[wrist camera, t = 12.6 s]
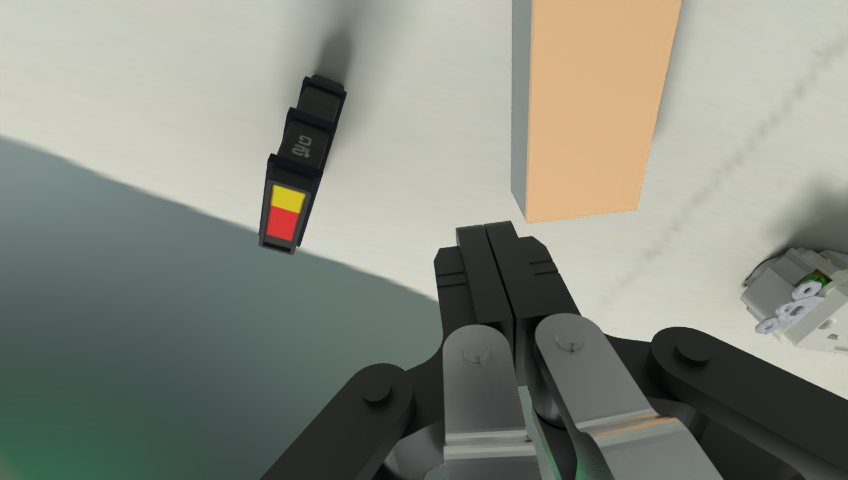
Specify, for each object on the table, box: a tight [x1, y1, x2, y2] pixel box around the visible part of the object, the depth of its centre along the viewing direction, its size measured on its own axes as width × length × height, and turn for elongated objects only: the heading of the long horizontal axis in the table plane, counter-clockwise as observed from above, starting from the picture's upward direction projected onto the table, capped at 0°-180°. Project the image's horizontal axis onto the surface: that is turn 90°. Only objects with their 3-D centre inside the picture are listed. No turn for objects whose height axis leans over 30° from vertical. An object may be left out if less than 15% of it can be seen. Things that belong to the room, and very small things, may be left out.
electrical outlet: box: [741, 247, 848, 355], centre depth 55 cm, size 12×28×10 cm, turn 72°
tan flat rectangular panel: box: [525, 0, 682, 224], centre depth 36 cm, size 22×11×1 cm, turn 7°
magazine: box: [259, 75, 347, 255], centre depth 38 cm, size 4×13×15 cm, turn 157°
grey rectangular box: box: [511, 0, 532, 218], centre depth 39 cm, size 22×11×6 cm, turn 7°
